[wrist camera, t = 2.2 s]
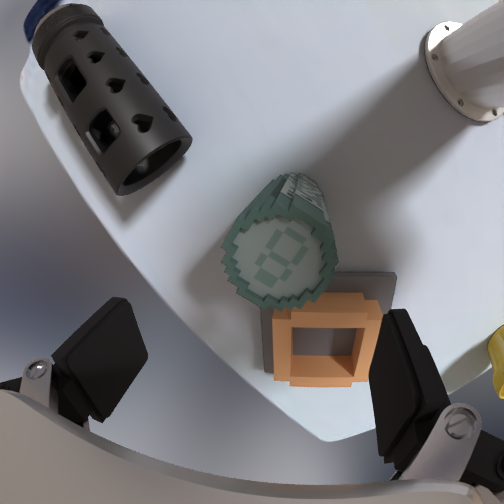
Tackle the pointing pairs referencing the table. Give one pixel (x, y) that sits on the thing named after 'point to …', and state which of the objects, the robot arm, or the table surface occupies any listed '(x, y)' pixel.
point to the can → (282, 245)
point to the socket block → (329, 332)
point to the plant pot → (497, 360)
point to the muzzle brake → (108, 99)
